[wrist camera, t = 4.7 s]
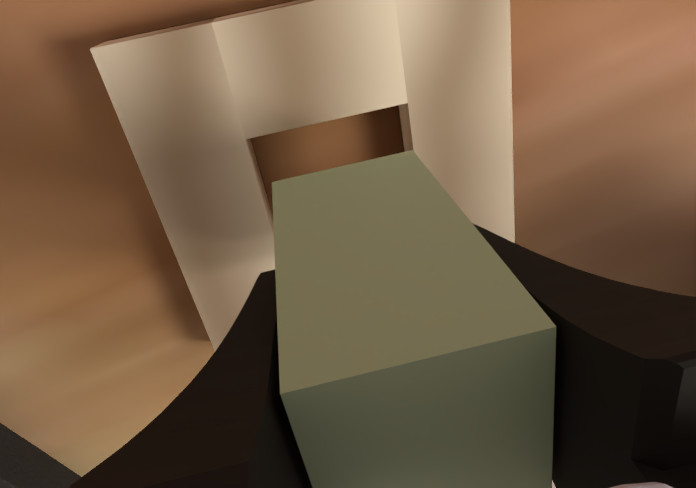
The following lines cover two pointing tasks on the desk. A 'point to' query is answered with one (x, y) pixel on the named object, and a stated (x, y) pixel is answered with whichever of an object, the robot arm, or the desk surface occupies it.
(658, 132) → the desk surface
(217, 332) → the pocket board
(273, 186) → the sage block
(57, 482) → the disk drive
